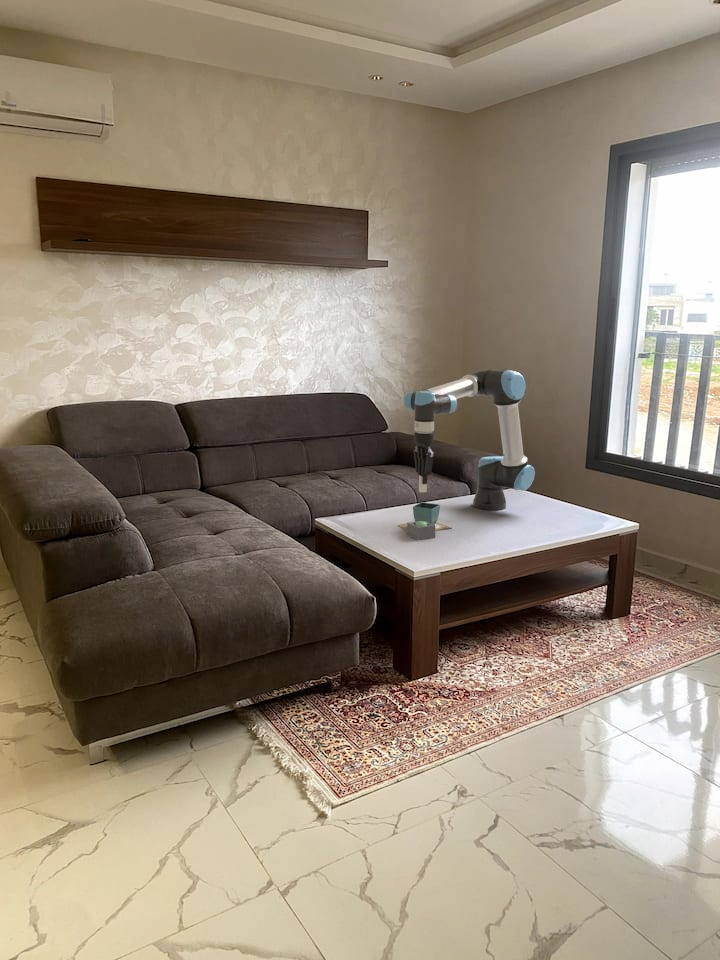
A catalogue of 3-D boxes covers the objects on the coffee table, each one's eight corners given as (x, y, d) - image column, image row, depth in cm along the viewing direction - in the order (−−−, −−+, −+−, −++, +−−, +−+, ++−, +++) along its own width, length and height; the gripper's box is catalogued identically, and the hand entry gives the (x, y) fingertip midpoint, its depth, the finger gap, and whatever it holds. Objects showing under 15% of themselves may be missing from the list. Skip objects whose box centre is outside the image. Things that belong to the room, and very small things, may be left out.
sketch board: (434, 521, 319) (434, 519, 319) (451, 528, 308) (451, 527, 308) (397, 525, 311) (397, 524, 311) (413, 533, 300) (413, 532, 300)
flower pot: (411, 527, 306) (412, 506, 304) (420, 522, 314) (421, 501, 312) (431, 530, 302) (432, 509, 300) (439, 525, 310) (440, 504, 308)
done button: (422, 532, 300) (423, 520, 299) (428, 534, 296) (429, 523, 295) (413, 533, 298) (413, 521, 297) (419, 536, 294) (419, 524, 293)
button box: (424, 532, 302) (424, 520, 301) (434, 537, 295) (435, 525, 294) (407, 534, 299) (407, 522, 298) (417, 540, 292) (417, 527, 291)
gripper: (407, 430, 292) (406, 489, 297) (424, 435, 281) (423, 496, 286) (423, 428, 296) (422, 487, 301) (441, 433, 284) (439, 494, 289)
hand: (422, 491), depth 293 cm, fingers closed
